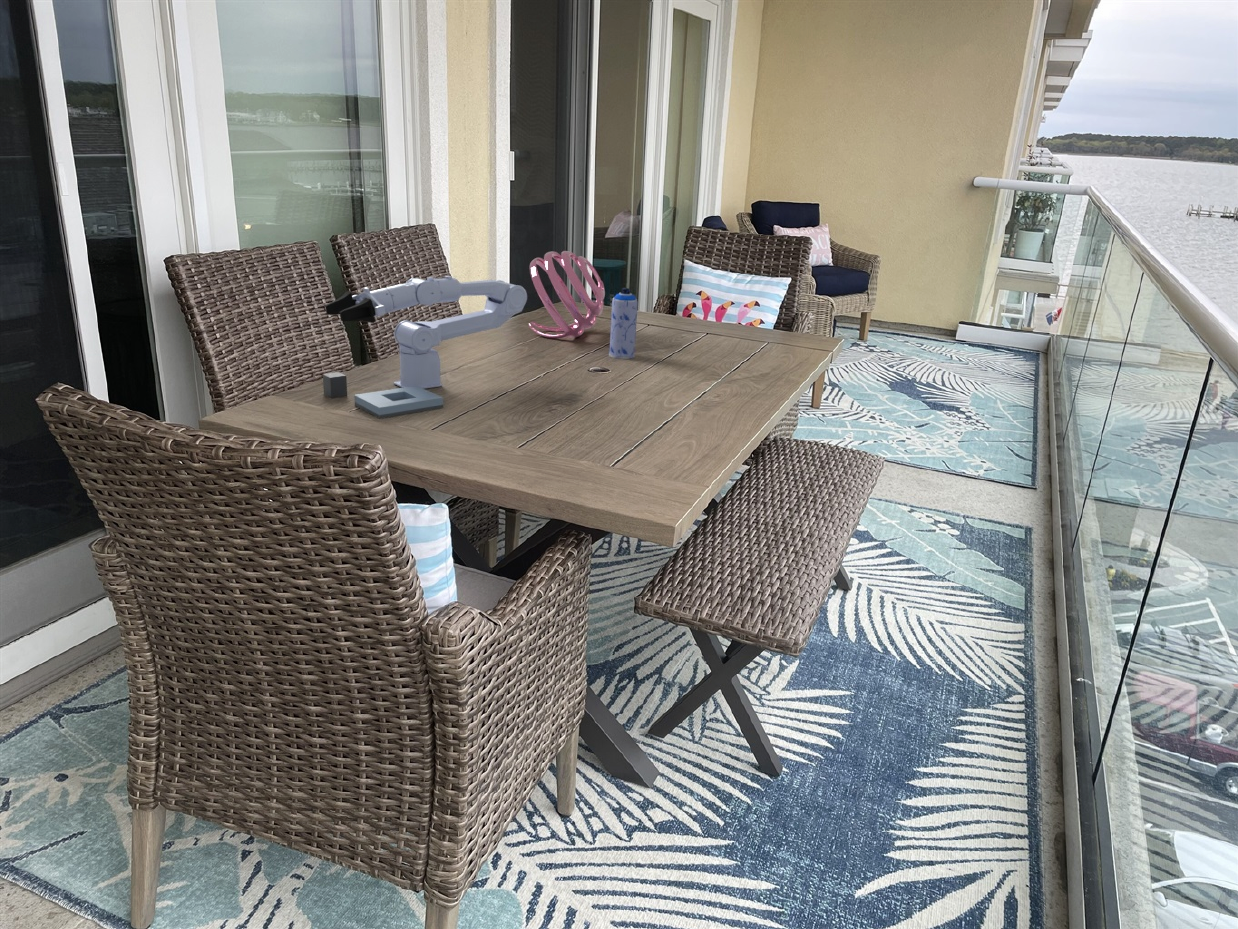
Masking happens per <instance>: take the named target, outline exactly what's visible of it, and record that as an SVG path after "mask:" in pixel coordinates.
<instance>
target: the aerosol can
mask: <svg viewBox="0 0 1238 929" xmlns="http://www.w3.org/2000/svg"><path fill="white" fill-rule="evenodd" d="M630 291H631V290H630V288H627V287H622V288H621V292H619V293H616V295H615V296H613V298H612V302H611V319H610V334H609V335H610V338H609V352H608V356H609V357H611V358H614V359H619V360H620V359H622V360H629V359H635V357H636V354H635V351H636V349H635V348H636V335H637V334H636V333H637V321H638V320H637V318H638V317H637V316H638V302H639V301H638V299H637V298H636V295H634V294H633V293H631V292H630Z"/></svg>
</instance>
